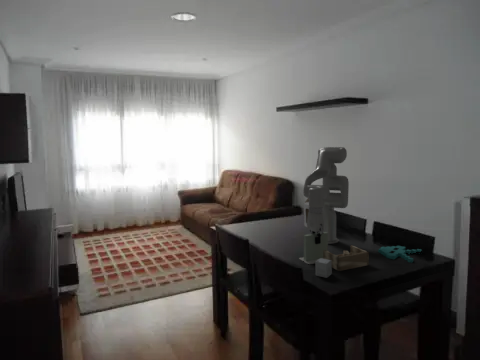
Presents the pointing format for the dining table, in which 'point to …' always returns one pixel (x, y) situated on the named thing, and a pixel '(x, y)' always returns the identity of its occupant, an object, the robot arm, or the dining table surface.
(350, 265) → the brown wooden open box
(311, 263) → the felt mat
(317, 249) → the sheet
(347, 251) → the offcut top
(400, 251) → the alien figure
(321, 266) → the skincare box
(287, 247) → the dining table surface
